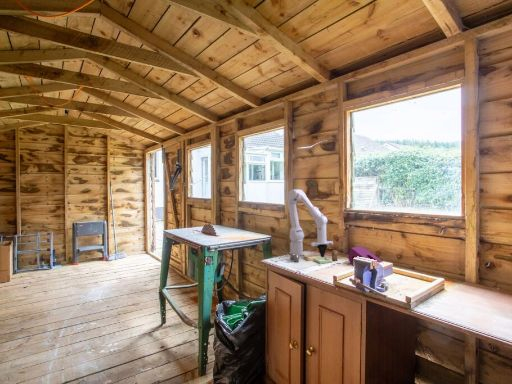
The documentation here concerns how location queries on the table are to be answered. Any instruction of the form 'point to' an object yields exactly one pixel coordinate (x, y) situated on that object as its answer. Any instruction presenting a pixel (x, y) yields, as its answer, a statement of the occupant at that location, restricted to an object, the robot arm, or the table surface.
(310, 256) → the plate
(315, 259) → the tray
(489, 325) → the table surface
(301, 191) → the robot arm
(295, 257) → the dog
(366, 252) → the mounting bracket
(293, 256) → the dog
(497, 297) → the table surface
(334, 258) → the dowel
